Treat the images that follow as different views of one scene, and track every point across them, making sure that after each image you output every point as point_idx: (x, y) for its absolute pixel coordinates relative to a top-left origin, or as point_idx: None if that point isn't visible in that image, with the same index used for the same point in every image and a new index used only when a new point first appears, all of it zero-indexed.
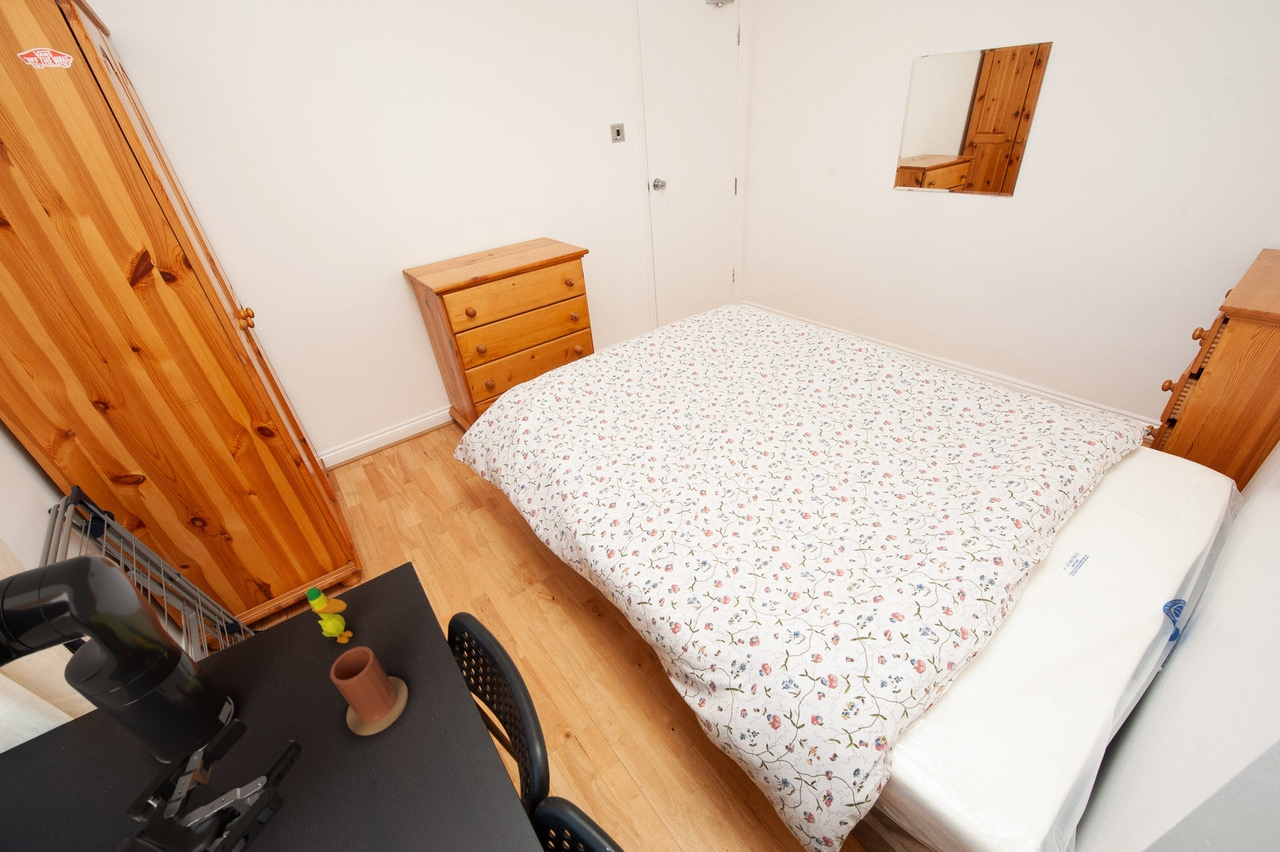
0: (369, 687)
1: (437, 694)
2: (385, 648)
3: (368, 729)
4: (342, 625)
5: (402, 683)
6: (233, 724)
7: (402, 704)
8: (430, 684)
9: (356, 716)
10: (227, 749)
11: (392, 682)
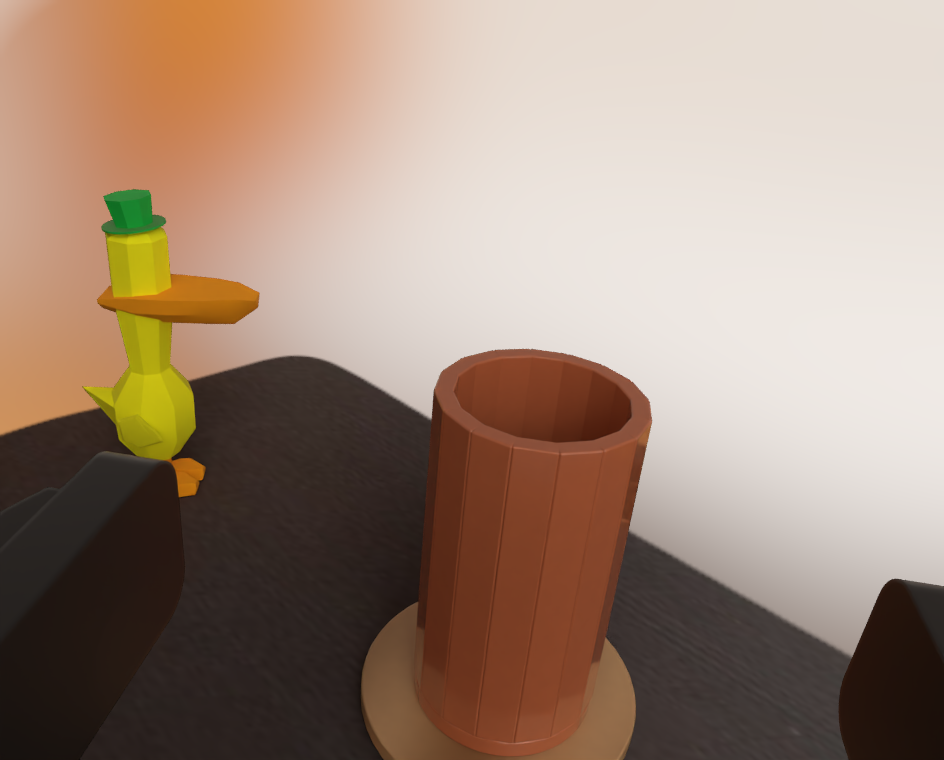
0: (624, 527)
1: (728, 646)
2: (375, 512)
3: None
4: (194, 411)
5: None
6: (130, 478)
7: (625, 678)
8: (665, 615)
9: (433, 733)
10: (66, 752)
11: None
